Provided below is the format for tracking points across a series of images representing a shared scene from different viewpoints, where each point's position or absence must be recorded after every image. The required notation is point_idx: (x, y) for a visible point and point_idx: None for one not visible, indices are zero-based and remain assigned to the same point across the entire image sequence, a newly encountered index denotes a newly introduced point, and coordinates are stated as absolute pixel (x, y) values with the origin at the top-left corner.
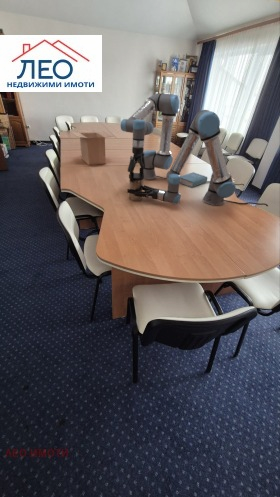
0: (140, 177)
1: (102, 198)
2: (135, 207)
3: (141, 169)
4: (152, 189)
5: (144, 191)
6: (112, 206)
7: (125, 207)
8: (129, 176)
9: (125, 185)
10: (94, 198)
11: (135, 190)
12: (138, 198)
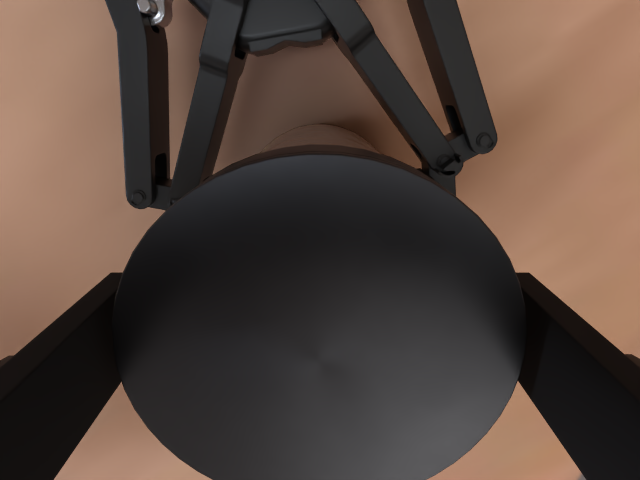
0: (400, 200)
1: (518, 412)
2: (544, 55)
3: (21, 445)
4: (154, 2)
5: (355, 53)
6: (632, 260)
7: (596, 147)
8: (469, 437)
9: (132, 434)
10: (552, 452)
11: (449, 175)
12: (361, 138)
